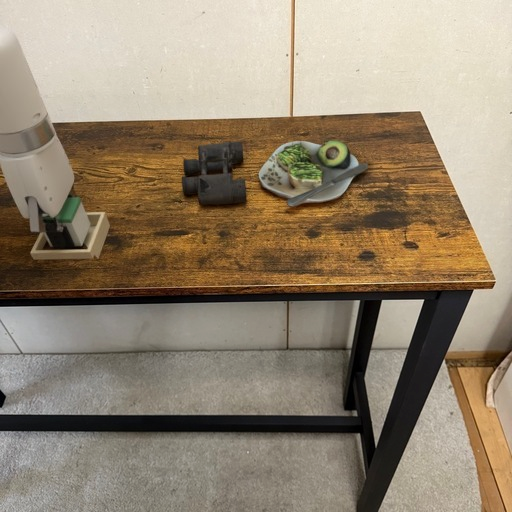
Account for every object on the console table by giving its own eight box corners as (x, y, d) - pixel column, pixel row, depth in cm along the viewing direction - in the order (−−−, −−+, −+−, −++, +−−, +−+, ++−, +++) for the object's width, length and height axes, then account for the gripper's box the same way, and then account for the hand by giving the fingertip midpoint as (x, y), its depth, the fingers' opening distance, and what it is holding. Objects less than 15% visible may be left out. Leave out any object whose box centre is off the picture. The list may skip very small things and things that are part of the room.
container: (49, 246, 70) (35, 219, 66) (60, 224, 74) (47, 197, 70) (82, 246, 70) (70, 219, 66) (91, 224, 73) (80, 196, 69)
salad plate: (333, 227, 74) (336, 205, 70) (239, 197, 80) (237, 176, 77) (373, 165, 85) (376, 143, 82) (287, 143, 92) (287, 122, 88)
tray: (37, 267, 70) (29, 253, 68) (56, 226, 77) (50, 213, 75) (96, 266, 70) (89, 252, 68) (110, 225, 76) (105, 211, 74)
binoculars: (183, 212, 78) (177, 182, 74) (187, 159, 89) (182, 131, 85) (247, 207, 78) (245, 177, 74) (243, 155, 89) (240, 126, 85)
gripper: (19, 100, 65) (63, 200, 78) (-37, 171, 53) (27, 275, 66) (70, 99, 64) (106, 199, 77) (26, 169, 52) (77, 274, 66)
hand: (69, 233), depth 71 cm, fingers closed on container, 5 cm apart
